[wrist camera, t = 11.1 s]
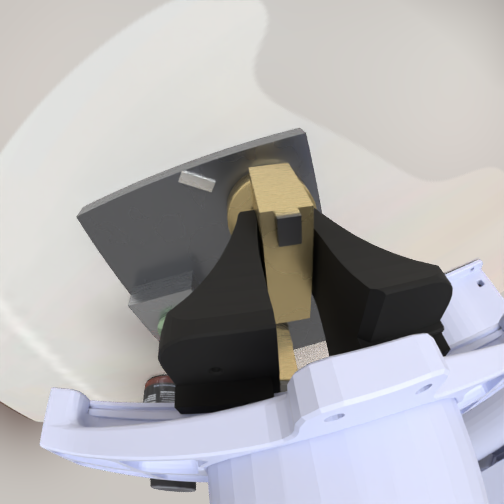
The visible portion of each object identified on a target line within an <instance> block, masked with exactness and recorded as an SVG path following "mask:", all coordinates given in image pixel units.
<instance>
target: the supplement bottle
mask: <svg viewBox="0 0 504 504" xmlns="http://www.w3.org/2000/svg"><path fill="white" fill-rule="evenodd" d="M143 403H175V384H174V383H173V381H172V380H171V379H170V377H169V376H168V375H164V376H158V377H154V378H152V379H150V380H148V381H147V383H146V385H145V390H144V400H143ZM150 480H151V487H152V488H154V489H158V490H165V491H177V492H192V491H195V490H196V482H186V481H172V480H162V479H153V478H150Z"/></svg>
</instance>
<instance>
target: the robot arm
mask: <svg viewBox="0 0 504 504" xmlns="http://www.w3.org/2000/svg"><path fill="white" fill-rule="evenodd" d="M482 265H483V262H482V261H481V260H480V259H479V260H476V261H474V262H472V263H470V264H468V265H465V266H463V267H461V268H459V269H456V270H454V271H452V272H449V273H447V274H444V273H443V272H442V270H441V269H440V268H439V266H437V265H432V264H428V263H424V262H420V261H416V260H412V259H409V258H406V257H403V256H400V255H397V254H394V253H391V252H389V251H387V250H384V249H382V248H379V247H377V246H375V245H373V244H371V243H369V242H367V241H365V240H363V239H361V238H359V237H357V236H355V235H354V234H352V233H350V232H349V231H347V230H345V229H344V228H342V227H341V226H339V225H338V224H336V223H335V222H333V221H332V220H330V219H329V218H328V217H326V216H325V215H323V214H322V213H321V212H319V211H318V210H317V209H315V208H314V229H313V267H312V290H311V293H312V295H313V298H314V300H315V303H316V306H317V309H318V312H319V315H320V319H321V323H322V327H323V331H324V335H325V339H326V343H327V347H328V352H329V357H326V358H323V359H320V360H317V361H314V362H311V363H309V364H307V365H306V366H304V367H303V368H301V369H300V370H298V371H296V372H295V373H294V374H293V376H292V377H291V379H290V381H289V383H288V384H287V391H286V392H281V389H280V369H279V355H278V342H277V329H276V322H275V317H274V312H273V307H272V304H271V301H270V297H269V293H268V289H267V286H266V282H265V278H264V273H263V267H262V258H261V249H260V241H259V232H258V224H257V217H256V213H255V210H250V211H243V212H240V213H239V214H238V217H237V222H236V225H235V228H234V230H233V233H232V235H231V238H230V240H229V242H228V244H227V246H226V248H225V250H224V252H223V254H222V255H221V257H220V259H219V260H218V262H217V263H216V265H215V266H214V268H213V269H212V270H211V271H210V273H209V274H208V275H207V277H206V278H205V279H204V280H203V281H202V283H201V284H200V285H199V286H198V287H197V288H196V289H195V290H194V291H193V292H192V293H191V294H190V295H189V296H187V297H186V298H185V299H184V300H183V301H181V302H180V303H179V304H178V305H176V306H175V307H174V308H173V309H171V310H170V311H169V312H167V314H166V317H165V320H164V324H163V327H162V331H161V335H160V343H159V353H158V360H159V362H160V364H161V366H162V368H163V369H164V370H165V372H166V373H167V375H168V376H169V377H170V379H171V380H172V381H173V383H174V384H175V403H127V402H106V401H93V400H89V399H88V398H87V397H86V396H85V395H84V394H83V393H81V392H79V391H77V390H73V389H66V388H56V387H53V388H51V392H50V396H49V400H48V404H47V409H46V414H45V418H44V423H43V429H42V434H41V441H40V446H41V447H42V448H44V449H46V450H48V451H50V452H52V453H54V454H56V455H58V456H60V457H63V458H65V459H67V460H69V461H71V462H74V463H76V464H78V465H81V466H85V467H90V468H94V469H99V470H104V471H109V472H114V473H120V474H126V475H132V476H139V477H145V478H153V479H162V480H172V481H186V482H208V485H209V498H210V504H504V299H503V297H502V296H501V294H500V293H499V292H498V290H497V289H496V288H495V286H494V285H493V284H492V282H491V281H490V280H489V278H488V277H487V276H486V275H485V273H484V272H483V271H482V270H481V268H482Z"/></svg>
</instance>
